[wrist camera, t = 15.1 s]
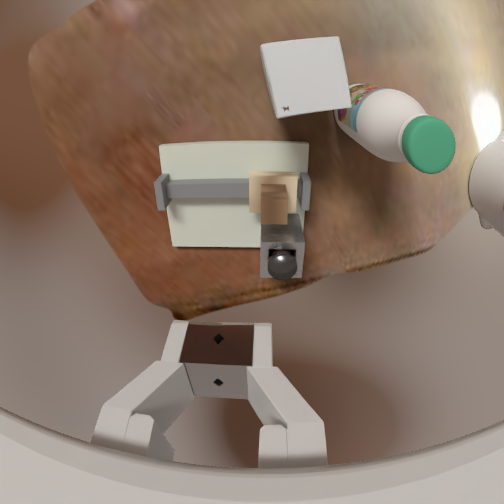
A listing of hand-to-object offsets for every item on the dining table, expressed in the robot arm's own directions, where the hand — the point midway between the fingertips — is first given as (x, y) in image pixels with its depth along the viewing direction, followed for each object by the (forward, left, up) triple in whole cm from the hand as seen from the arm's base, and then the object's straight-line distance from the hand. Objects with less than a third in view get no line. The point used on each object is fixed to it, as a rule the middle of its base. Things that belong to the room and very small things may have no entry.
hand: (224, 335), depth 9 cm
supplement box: (-5, -7, -34) cm, 35 cm away
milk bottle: (-14, -3, -34) cm, 37 cm away
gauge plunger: (-4, +15, -31) cm, 35 cm away
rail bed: (+3, +10, -34) cm, 36 cm away
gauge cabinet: (-4, +15, -34) cm, 37 cm away
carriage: (-2, +8, -33) cm, 34 cm away
